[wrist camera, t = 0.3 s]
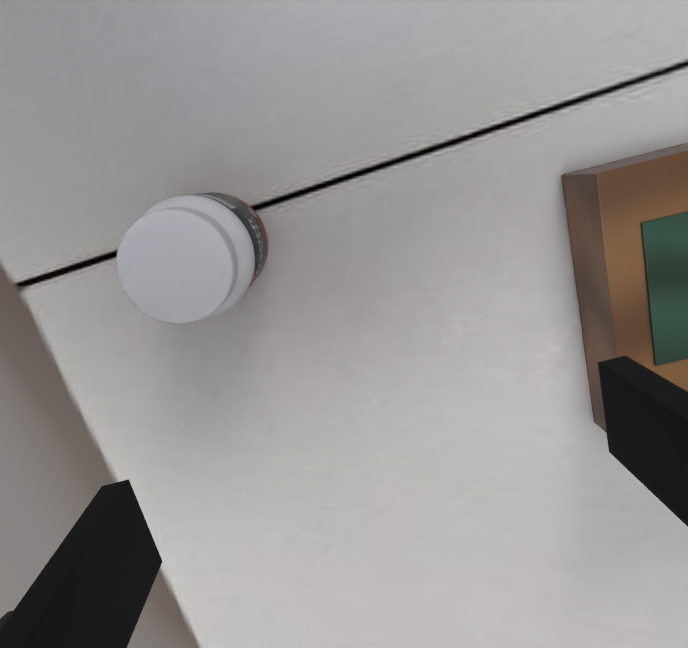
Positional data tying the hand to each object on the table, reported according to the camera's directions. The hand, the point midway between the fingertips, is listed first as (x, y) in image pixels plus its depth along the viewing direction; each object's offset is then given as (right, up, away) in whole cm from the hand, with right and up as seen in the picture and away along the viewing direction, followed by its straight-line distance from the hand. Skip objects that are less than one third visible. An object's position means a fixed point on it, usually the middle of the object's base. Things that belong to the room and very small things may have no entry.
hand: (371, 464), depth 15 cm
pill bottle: (-8, +9, +17) cm, 20 cm away
